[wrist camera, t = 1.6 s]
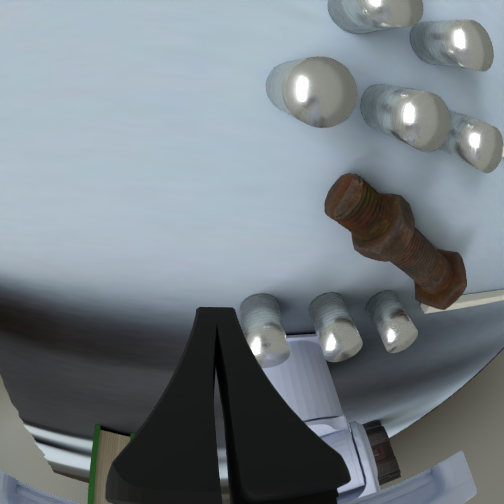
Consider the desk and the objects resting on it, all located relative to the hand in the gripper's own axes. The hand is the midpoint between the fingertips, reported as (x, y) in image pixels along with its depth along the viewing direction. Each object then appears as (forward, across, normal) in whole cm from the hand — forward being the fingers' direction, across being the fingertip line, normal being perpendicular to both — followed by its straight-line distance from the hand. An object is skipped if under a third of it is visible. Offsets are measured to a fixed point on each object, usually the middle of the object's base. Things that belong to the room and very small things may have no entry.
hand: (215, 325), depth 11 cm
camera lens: (+10, -32, +48) cm, 58 cm away
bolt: (+10, -14, +1) cm, 17 cm away
